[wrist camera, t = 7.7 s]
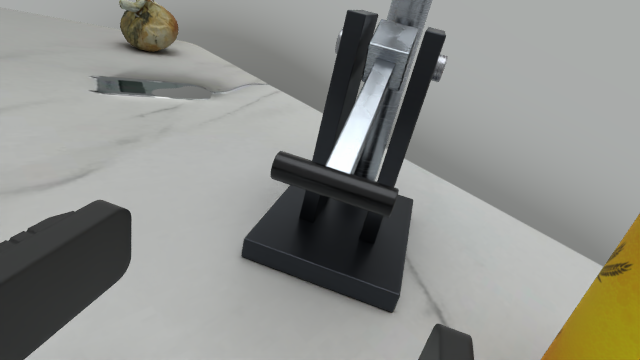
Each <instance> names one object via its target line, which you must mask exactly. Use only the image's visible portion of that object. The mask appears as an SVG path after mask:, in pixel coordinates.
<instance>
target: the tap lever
mask: <svg viewBox="0 0 640 360" xmlns="http://www.w3.org/2000/svg"><path fill="white" fill-rule="evenodd" d="M418 32H419V29H418V28H414V27H410V26H406V25H403V24H399V23H395V22H391V21H387V20H383V19H382V20H381V21H380V23H379V25H378V27H377V29H376V31H375V33H374V34H373V36H372V38H371V40H370V42H369V44H368V49H367V54H366V59H365V65H364V70H363V75H362V81H363V82H365V83H364V85H363V87H362V89H361V91H360V94H359V96H358V98H357V100H356V102H355V104H354V106H353V108H352V110H351V112H350V114H349V117H348V119H347V121H346V123H345V125H344V127H343V129H342V131H341V133H340V136H339V138H338V140H337V142H336V144H335V146H334V148H333V150H332V152H331V154H330V157H329V159H328V161H327V163H326V165H323V164H320V163H317V162H314V161H311V160H308V159H305V158H301V157H298V156H295V155H292V154H289V153H286V152H283V151H280V152H279V153H278V154H277V155H276V157H275V159H274V161H273V164H272V168H271V178H272V179H274V180H277V181H280V182H283V183H286V184H289V185H292V186H295V187H298V188H301V189H304V190H307V191H310V192H313V193H316V194H319V195H322V196H325V197H328V198H331V199H334V200H337V201H340V202H343V203H346V204H349V205H352V206H355V207H358V208H361V209H364V210H367V211H370V212H373V213H376V214H379V215H382V216H384V217H387V218H389V217H390V216H391V213H392V210H393V207H394V204H395V201H396V198H397V195H398V191H399V189H397V188H394V187H391V186H388V185H385V184H382V183H379V182H376V181H373V180H370V179H366V178H363V177H360V176H357V175H354V172H355V169H356V167H357V164H358V162H359V159H360V157H361V154H362V152H363V149H364V147H365V144H366V142H367V140H368V137H369V135H370V132H371V130H372V127H373V125H374V122H375V120H376V117H377V115H378V112H379V110H380V107H381V105H382V102H383V100H384V97H385V95H386V92H387V90H388V89H391V90H395V91H399V90H400V87H401V85H402V82H403V79H404V77H405V74H406V71H407V68H408V66H409V63H410V59H411V56H412V52H413V49H414V46H415V42H416V39H417V36H418Z"/></svg>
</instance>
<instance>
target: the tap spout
mask: <svg viewBox="0 0 640 360" xmlns="http://www.w3.org/2000/svg"><path fill="white" fill-rule="evenodd" d="M431 3H432V0H392V2H391V6H390V10H389V13H388V17H387V21H391V22H395V23H399V24H403V25H406V26H410V27H414V28H418V29H419V32H418V36H417V39H416V42H415V46H414V49H413V52H412V56H411V59H410V63H409V66H408V68H407V71H406V74H405V77H404V79H403V82H402V85H401V87H400V90H399V91H395V90H391V89H388V90H387V92H386V95H385V97H384V100H383V102H382V105H381V107H380V110H379V112H378V115H377V117H376V120H375V122H374V125H373V127H372V130H371V132H370V135H369V137H368V140H367V142H366V144H365V147H364V149H363V152H362V154H361V157H360V159H359V162H358V164H357V167H356V169H355V172H354V175H357V176H360V177H363V178H366V179H370V180H373V181H375V179H376V176H377V173H378V170H379V166H380V163H381V160H382V157H383V154H384V151H385V148H386V144H387V141H388V138H389V135H390V132H391V129H392V126H393V122H394V119H395V116H396V113H397V109H398V106H399V104H400V100H401V97H402V94H403V91H404V88H405V85H406V81H407V78H408V75H409V72H410V69H411V65H412V63H413V59H414V56H415V53H416V50H417V47H418V44H419V40H420V37H421V34H422V31H423V28H424V25H425V22H426V18H427V15H428V12H429V9H430V6H431Z"/></svg>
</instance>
